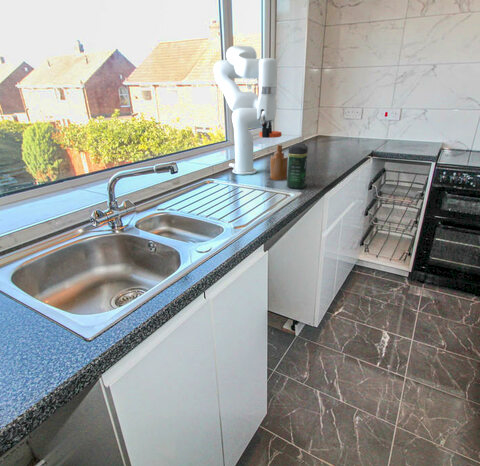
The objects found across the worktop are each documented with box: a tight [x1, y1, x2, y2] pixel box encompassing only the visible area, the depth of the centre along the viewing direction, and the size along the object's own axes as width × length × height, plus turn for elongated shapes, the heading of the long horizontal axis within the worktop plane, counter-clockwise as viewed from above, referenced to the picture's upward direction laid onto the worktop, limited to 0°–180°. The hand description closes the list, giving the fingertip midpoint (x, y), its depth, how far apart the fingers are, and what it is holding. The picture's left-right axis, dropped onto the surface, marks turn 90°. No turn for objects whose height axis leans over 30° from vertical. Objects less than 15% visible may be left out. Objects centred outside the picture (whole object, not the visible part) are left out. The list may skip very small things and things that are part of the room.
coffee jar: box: [286, 143, 309, 190], centre depth 144 cm, size 10×8×19 cm
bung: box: [258, 130, 282, 139], centre depth 148 cm, size 10×10×2 cm
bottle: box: [269, 144, 288, 181], centre depth 158 cm, size 8×8×16 cm
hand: (266, 136), depth 145 cm, fingers closed on bung, 2 cm apart
